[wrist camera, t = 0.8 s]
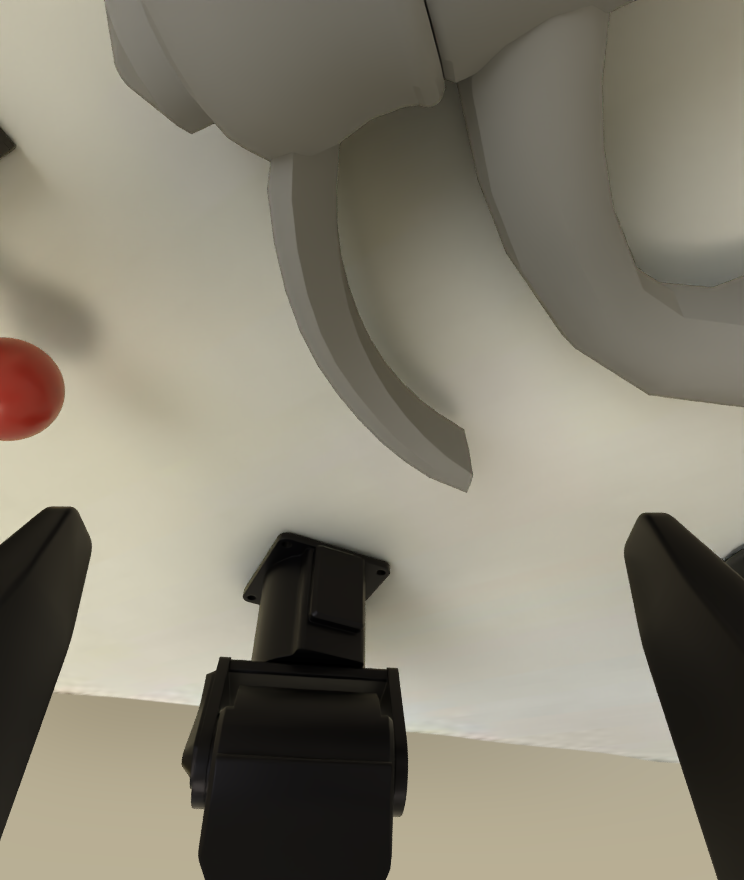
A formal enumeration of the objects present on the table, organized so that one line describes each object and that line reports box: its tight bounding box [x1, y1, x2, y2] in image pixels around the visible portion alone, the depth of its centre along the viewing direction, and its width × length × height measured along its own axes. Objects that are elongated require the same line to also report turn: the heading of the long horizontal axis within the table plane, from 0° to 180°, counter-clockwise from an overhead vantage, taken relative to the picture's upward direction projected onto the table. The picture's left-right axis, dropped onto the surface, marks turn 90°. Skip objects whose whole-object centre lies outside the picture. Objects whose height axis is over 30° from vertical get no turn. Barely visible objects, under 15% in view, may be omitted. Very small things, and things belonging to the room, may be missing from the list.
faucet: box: [104, 0, 744, 493], centre depth 15 cm, size 7×21×26 cm
